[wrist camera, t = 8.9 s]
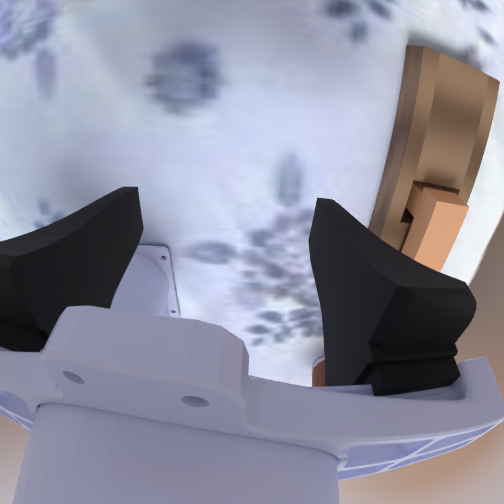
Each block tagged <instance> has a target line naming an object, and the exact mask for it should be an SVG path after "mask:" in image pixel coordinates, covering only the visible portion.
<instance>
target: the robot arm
mask: <svg viewBox="0 0 504 504" xmlns="http://www.w3.org/2000/svg"><path fill="white" fill-rule="evenodd" d="M142 232H143V222H142V215H141V208H140V201H139V193H138V187H122V188H119V189H117V190H115V191H113V192H111V193H109V194H107V195H105V196H103V197H102V198H100V199H98V200H96V201H94V202H93V203H91V204H89V205H87V206H85V207H84V208H82V209H80V210H78V211H76V212H74V213H73V214H71V215H69V216H67V217H65V218H63V219H61V220H59V221H56V222H54V223H52V224H50V225H48V226H45V227H42V228H40V229H37V230H35V231H32V232H30V233H27V234H24V235H21V236H18V237H15V238H12V239H8V240H5V241H1V242H0V414H2V415H4V416H5V417H7V418H9V419H10V420H12V421H14V422H16V423H18V424H20V425H21V426H23V427H24V428H25V430H26V431H27V433H28V434H29V439H28V443H27V446H26V449H25V453H24V457H23V460H22V464H21V468H20V473H19V476H18V481H17V485H16V490H15V495H14V500H13V504H339V488H338V480H344V479H350V478H356V477H361V476H366V475H370V474H375V473H379V472H383V471H387V470H391V469H395V468H399V467H403V466H406V465H409V464H413V463H416V462H419V461H423V460H426V459H429V458H432V457H435V456H438V455H441V454H444V453H447V452H450V451H453V450H456V449H459V448H461V447H464V446H466V445H467V444H469V443H470V442H472V441H474V440H475V439H477V438H478V437H480V436H482V435H483V434H484V433H486V432H487V431H489V430H490V429H492V428H493V427H495V426H496V425H498V424H499V423H500V422H502V421H503V420H504V402H503V399H502V396H501V394H500V391H499V388H498V385H497V382H496V380H495V377H494V375H493V372H492V370H491V367H490V365H489V362H488V360H487V358H486V357H478V358H473V359H467V360H464V361H461V362H460V363H458V364H456V361H455V359H454V356H455V355H456V354H457V352H458V350H457V348H456V345H455V342H456V341H457V340H458V338H459V337H460V336H461V334H462V333H463V332H464V331H465V329H466V328H467V327H468V325H469V324H470V322H471V321H472V318H473V317H474V314H475V311H476V300H475V298H474V296H473V294H472V293H471V291H470V289H469V287H468V286H467V284H466V283H465V282H463V281H461V280H458V279H456V278H453V277H450V276H448V275H445V274H442V273H440V272H438V271H436V270H434V269H431V268H429V267H427V266H425V265H423V264H421V263H419V262H417V261H415V260H414V259H412V258H410V257H408V256H407V255H405V254H403V253H401V252H400V251H398V250H396V249H395V248H393V247H392V246H391V245H389V244H388V243H386V242H385V241H383V240H382V239H380V238H379V237H378V236H376V235H375V234H374V233H373V232H371V231H370V230H369V229H367V228H366V227H365V226H364V225H363V224H361V223H360V222H359V221H358V220H357V219H356V218H354V217H353V216H352V215H351V214H350V213H349V212H348V211H346V210H345V209H344V208H343V207H342V206H341V205H339V204H338V203H337V202H335V201H334V200H332V199H325V198H317V202H316V207H315V212H314V217H313V222H312V227H311V231H310V236H309V251H310V261H311V265H312V270H313V274H314V279H315V283H316V287H317V292H318V296H319V301H320V306H321V312H322V322H323V334H324V353H325V387H305V386H299V385H293V384H288V383H283V382H278V381H273V380H268V379H264V378H259V377H255V376H250V375H248V366H249V355H248V352H247V349H246V347H245V344H244V342H243V340H241V339H240V338H238V337H237V336H235V335H234V334H232V333H231V332H229V331H228V330H226V329H225V328H223V327H222V326H219V325H215V324H211V323H207V322H204V321H200V320H196V319H186V318H180V313H179V308H178V302H177V297H176V291H175V285H174V279H173V272H172V266H171V259H170V252H169V249H168V248H166V247H164V246H149V245H138V244H139V241H140V238H141V235H142ZM163 256H165V257H166V258H165V257H163Z"/></svg>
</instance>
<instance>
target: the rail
mask: <svg viewBox="0 0 504 504" xmlns="http://www.w3.org/2000/svg"><path fill="white" fill-rule="evenodd" d="M499 84H500V81H498V80H496V79H494V78H493V77H491V76H489V75H487V74H485V73H483V72H481V71H479V70H477V69H475V68H473V67H471V66H469V65H467V64H465V63H463V62H461V61H458V60H456V59H454V58H452V57H449V56H447V55H445V54H442V53H440V52H437V51H435V50H432V49H430V48H427V47H424V46H410V45H407V49H406V57H405V65H404V72H403V79H402V85H401V91H400V97H399V103H398V109H397V114H396V119H395V124H394V129H393V134H392V139H391V143H390V148H389V152H388V157H387V161H386V165H385V169H384V173H383V177H382V181H381V185H380V189H379V193H378V196H377V200H376V204H375V207H374V211H373V214H372V218H371V221H370V224H369V228H368V229H369V230H370V231H371V232H373V233H374V234H375V235H376V236H378V237H379V238H380V239H382V240H383V241H385V242H386V243H388V244H389V245H391V246H392V247H393V248H395V249H396V250H402V249H403V246H404V243H405V241H406V238H407V236H408V233H409V230H410V228H411V225H412V222H413V219H414V217H413V215H412V214H411V213H410V211H409V210H408V209H407V208H405V206H406V203H407V200H408V197H409V194H410V190H411V187H412V184H413V180H416V181H421V182H427V183H432V184H437V185H441V186H442V188H443V189H444V190H445V191H447V192H452V193H456V194H457V195H458V196H459V197H460V198H461V199H462V200H463V201H464V202H465V203H466V204H467V202H468V199H469V197H470V194H471V191H472V188H473V186H474V183H475V180H476V177H477V174H478V171H479V167H480V164H481V161H482V158H483V154H484V151H485V147H486V144H487V140H488V136H489V132H490V128H491V124H492V120H493V115H494V111H495V106H496V101H497V95H498V90H499Z"/></svg>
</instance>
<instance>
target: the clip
mask: <svg viewBox="0 0 504 504" xmlns="http://www.w3.org/2000/svg"><path fill="white" fill-rule="evenodd" d="M406 207H407V209H408V210H409V211H410V213H411V214H412V215H413V217H414V219H413V222H412V225H411V228H410V230H409V233H408V236H407V238H406V241H405V243H404V246H403V249H402V250H398V251H400V252H401V253H403V254H405V255H407V256H408V257H410V258H412V259H414V260H415V261H417V262H419V263H421V264H423V265H425V266H427V267H429V268H431V269H434V270H436V271H438V272H440V271H441V269H442V267H443V265H444V263H445V261H446V259H447V257H448V255H449V253H450V250H451V248H452V246H453V244H454V242H455V240H456V237H457V235H458V233H459V230H460V228H461V226H462V223H463V221H464V219H465V216H466V214H467V211H468V209H469V207H468V205H467V204H466V203H465V202H464V201H463V200H462V199H461V198H460V197H459V196H458V195H457V194H456V193H452V192H447V191H445V190H444V189H443V188H442V187H441V186H440V185H437V184H432V183H427V182H421V181H416V180H413V184H412V187H411V190H410V194H409V197H408V200H407V203H406Z"/></svg>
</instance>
